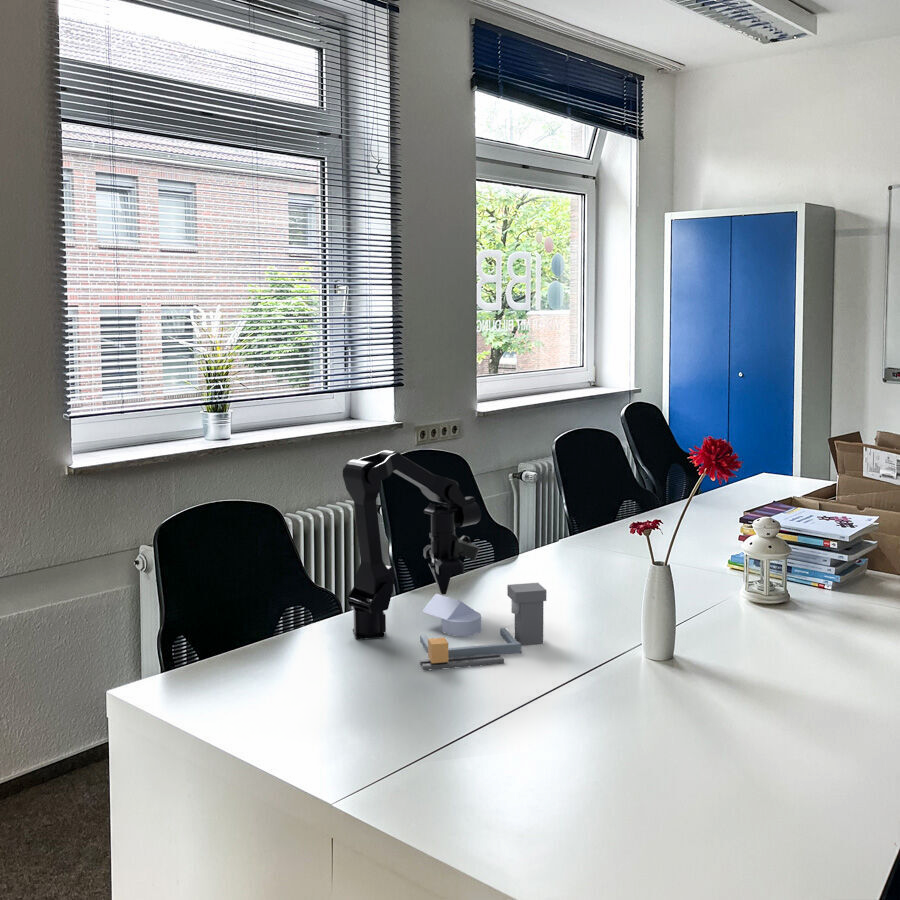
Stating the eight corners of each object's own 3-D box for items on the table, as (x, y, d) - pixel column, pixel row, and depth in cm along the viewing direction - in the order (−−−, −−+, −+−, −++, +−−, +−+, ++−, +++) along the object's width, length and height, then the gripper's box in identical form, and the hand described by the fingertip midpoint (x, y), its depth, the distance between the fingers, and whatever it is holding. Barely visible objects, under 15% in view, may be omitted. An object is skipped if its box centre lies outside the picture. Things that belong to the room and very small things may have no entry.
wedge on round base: (421, 625, 230) (460, 639, 220) (421, 597, 229) (460, 609, 219) (450, 617, 236) (489, 629, 226) (450, 589, 235) (489, 601, 225)
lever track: (423, 670, 201) (423, 666, 201) (419, 664, 205) (419, 660, 205) (504, 663, 205) (504, 658, 205) (499, 657, 209) (499, 652, 208)
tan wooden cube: (431, 668, 202) (431, 644, 201) (428, 662, 205) (427, 638, 204) (448, 666, 203) (448, 643, 202) (444, 660, 206) (444, 637, 205)
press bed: (431, 660, 207) (430, 604, 205) (420, 641, 219) (419, 587, 217) (551, 650, 213) (552, 595, 211) (534, 632, 224) (534, 579, 223)
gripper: (486, 537, 229) (486, 602, 232) (466, 520, 247) (466, 581, 250) (438, 540, 227) (439, 606, 229) (422, 522, 245) (423, 584, 247)
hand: (443, 594), depth 239 cm, fingers closed
